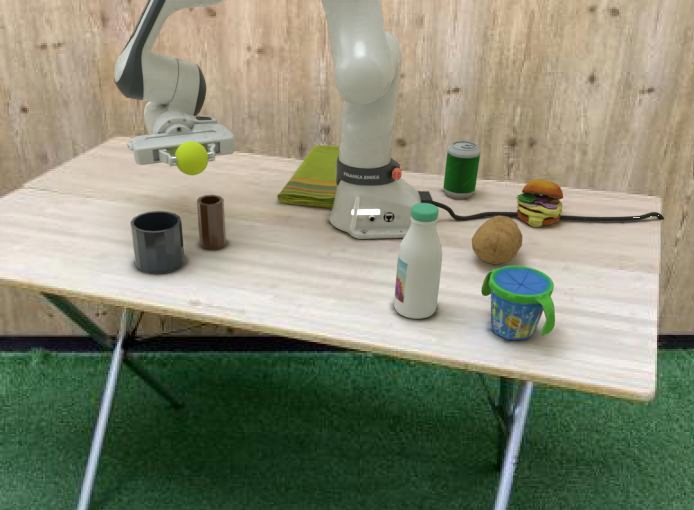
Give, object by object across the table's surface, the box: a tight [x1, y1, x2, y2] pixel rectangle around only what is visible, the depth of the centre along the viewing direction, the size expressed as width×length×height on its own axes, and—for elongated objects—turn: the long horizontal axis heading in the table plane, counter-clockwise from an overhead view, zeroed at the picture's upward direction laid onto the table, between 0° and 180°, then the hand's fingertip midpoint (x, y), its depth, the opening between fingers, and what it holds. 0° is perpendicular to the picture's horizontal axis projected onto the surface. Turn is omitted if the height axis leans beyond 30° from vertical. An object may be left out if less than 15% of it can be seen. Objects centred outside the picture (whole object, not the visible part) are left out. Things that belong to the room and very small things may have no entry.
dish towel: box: [276, 144, 339, 209], centre depth 193 cm, size 15×36×3 cm, turn 166°
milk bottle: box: [393, 203, 443, 320], centre depth 138 cm, size 8×8×20 cm
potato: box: [471, 215, 523, 265], centre depth 158 cm, size 10×14×8 cm
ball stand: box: [196, 194, 227, 251], centre depth 161 cm, size 5×5×10 cm
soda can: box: [442, 140, 481, 200], centre depth 184 cm, size 8×8×12 cm
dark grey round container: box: [130, 210, 186, 275], centre depth 155 cm, size 10×10×9 cm
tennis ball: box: [175, 141, 209, 176], centre depth 151 cm, size 6×6×6 cm
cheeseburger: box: [515, 178, 564, 228], centre depth 175 cm, size 10×11×10 cm
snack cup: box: [481, 265, 556, 341], centre depth 135 cm, size 16×10×10 cm
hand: (192, 159), depth 151 cm, fingers closed on tennis ball, 6 cm apart
